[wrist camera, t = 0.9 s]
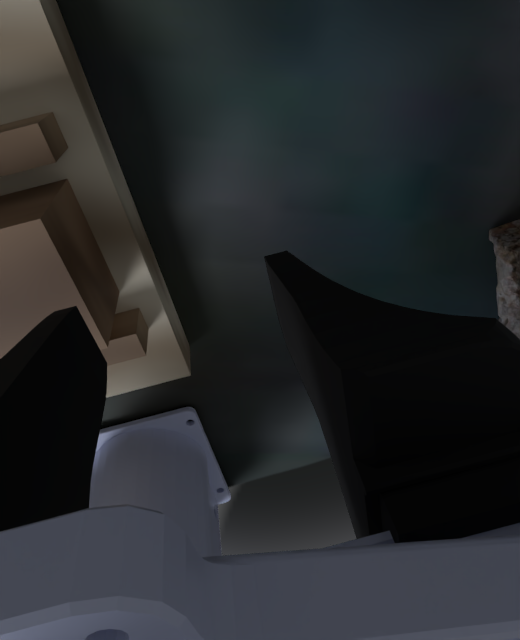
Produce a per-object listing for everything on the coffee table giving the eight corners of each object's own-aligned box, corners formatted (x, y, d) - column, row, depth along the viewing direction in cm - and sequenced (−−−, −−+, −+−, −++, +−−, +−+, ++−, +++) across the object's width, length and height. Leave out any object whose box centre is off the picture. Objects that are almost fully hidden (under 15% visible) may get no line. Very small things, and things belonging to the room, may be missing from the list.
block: (119, 291, 19) (108, 347, 16) (6, 321, 19) (-28, 383, 16) (67, 178, 16) (40, 218, 13) (-65, 213, 16) (-126, 261, 13)
